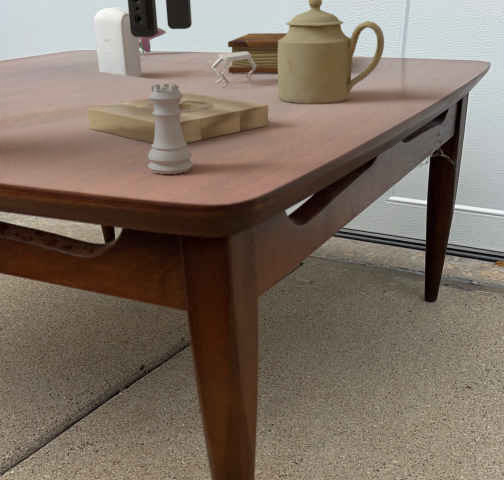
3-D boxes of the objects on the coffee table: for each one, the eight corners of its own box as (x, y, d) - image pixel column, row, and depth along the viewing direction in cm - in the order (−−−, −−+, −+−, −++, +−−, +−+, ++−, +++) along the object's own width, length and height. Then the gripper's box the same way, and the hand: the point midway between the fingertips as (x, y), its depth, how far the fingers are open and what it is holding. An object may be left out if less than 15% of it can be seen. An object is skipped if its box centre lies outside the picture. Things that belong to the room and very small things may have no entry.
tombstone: (95, 76, 134) (88, 7, 128) (114, 73, 136) (108, 6, 131) (126, 80, 127) (119, 8, 121) (145, 78, 129) (139, 7, 124)
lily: (174, 57, 171) (164, 20, 171) (159, 41, 159) (148, 2, 160) (130, 73, 173) (120, 37, 173) (112, 59, 162) (101, 20, 162)
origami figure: (212, 79, 126) (211, 51, 124) (258, 79, 125) (258, 50, 123) (205, 89, 115) (203, 58, 113) (254, 89, 115) (254, 58, 113)
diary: (325, 73, 130) (326, 41, 128) (228, 73, 133) (227, 42, 131) (333, 59, 151) (334, 31, 148) (249, 60, 154) (249, 32, 151)
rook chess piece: (142, 175, 66) (135, 89, 63) (155, 163, 70) (148, 82, 67) (187, 176, 66) (182, 89, 62) (197, 164, 70) (193, 82, 66)
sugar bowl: (367, 90, 111) (372, -12, 104) (382, 102, 101) (389, -10, 94) (274, 93, 110) (274, -10, 104) (281, 105, 100) (281, -8, 94)
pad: (168, 147, 77) (166, 124, 76) (89, 128, 87) (87, 108, 86) (268, 125, 87) (268, 105, 86) (187, 110, 97) (186, 92, 96)
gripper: (139, -163, 63) (155, 27, 70) (60, -196, 50) (89, 39, 57) (217, -170, 61) (225, 26, 68) (155, -206, 49) (173, 39, 55)
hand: (163, 32), depth 63 cm, fingers open, 8 cm apart
